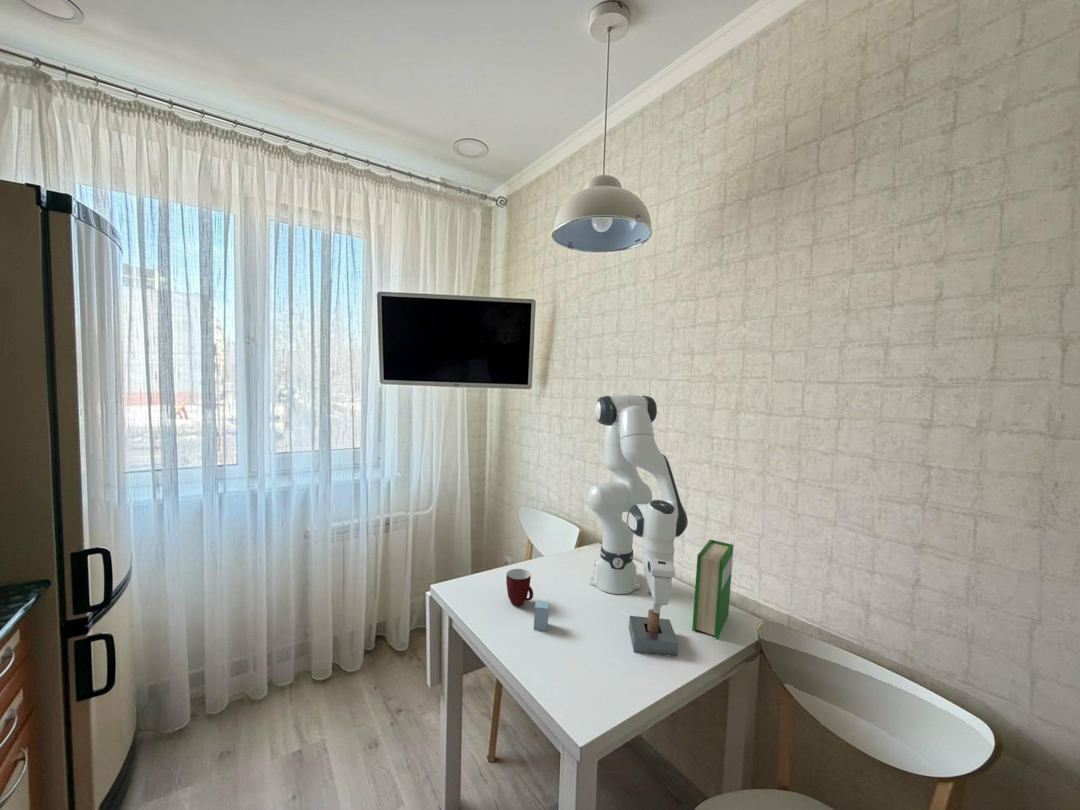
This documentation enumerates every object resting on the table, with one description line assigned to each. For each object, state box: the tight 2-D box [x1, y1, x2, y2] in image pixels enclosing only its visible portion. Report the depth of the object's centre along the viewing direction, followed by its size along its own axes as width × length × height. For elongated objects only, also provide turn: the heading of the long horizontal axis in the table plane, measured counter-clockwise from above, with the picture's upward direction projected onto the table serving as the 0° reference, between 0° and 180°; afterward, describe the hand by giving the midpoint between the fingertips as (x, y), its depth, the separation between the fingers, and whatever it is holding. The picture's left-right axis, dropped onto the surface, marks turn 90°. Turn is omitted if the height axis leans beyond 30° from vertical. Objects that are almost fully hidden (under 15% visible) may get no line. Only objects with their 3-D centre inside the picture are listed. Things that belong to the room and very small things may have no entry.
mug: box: [505, 568, 534, 607], centre depth 143 cm, size 10×8×10 cm
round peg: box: [647, 608, 661, 633], centre depth 126 cm, size 3×3×9 cm
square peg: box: [533, 600, 550, 632], centre depth 131 cm, size 4×4×7 cm
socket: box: [628, 615, 679, 657], centre depth 126 cm, size 12×12×4 cm
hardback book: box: [691, 539, 734, 640], centre depth 137 cm, size 18×7×24 cm, turn 147°
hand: (653, 602), depth 126 cm, fingers open, 8 cm apart
